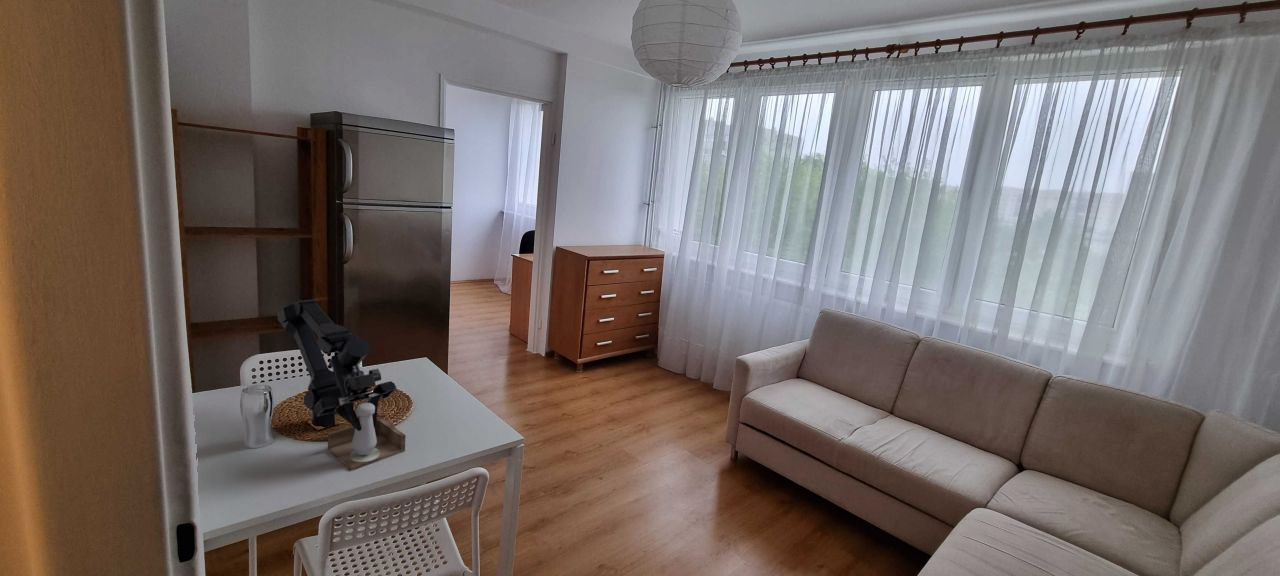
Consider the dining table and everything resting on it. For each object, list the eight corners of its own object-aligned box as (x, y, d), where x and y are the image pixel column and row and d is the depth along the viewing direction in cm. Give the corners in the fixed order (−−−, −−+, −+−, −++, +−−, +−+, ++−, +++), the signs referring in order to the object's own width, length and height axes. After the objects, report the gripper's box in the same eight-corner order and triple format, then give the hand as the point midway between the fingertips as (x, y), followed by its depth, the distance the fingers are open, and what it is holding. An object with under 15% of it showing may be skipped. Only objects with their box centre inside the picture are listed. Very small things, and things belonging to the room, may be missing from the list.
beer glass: (280, 440, 140) (279, 388, 136) (254, 452, 133) (252, 397, 130) (262, 433, 142) (260, 381, 138) (235, 444, 135) (232, 390, 132)
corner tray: (327, 449, 138) (327, 432, 137) (380, 432, 150) (380, 417, 149) (351, 470, 131) (351, 453, 130) (404, 451, 142) (405, 435, 141)
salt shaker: (375, 455, 135) (377, 409, 133) (350, 458, 133) (352, 411, 130) (376, 444, 140) (378, 399, 138) (352, 446, 138) (353, 400, 135)
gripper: (319, 368, 126) (340, 428, 123) (394, 353, 141) (415, 406, 137) (305, 387, 132) (324, 444, 129) (378, 370, 147) (398, 421, 144)
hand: (367, 428), depth 134 cm, fingers closed on salt shaker, 3 cm apart
